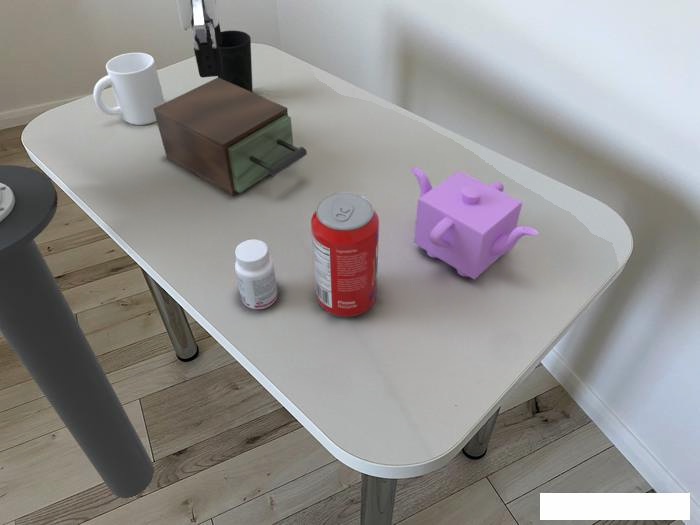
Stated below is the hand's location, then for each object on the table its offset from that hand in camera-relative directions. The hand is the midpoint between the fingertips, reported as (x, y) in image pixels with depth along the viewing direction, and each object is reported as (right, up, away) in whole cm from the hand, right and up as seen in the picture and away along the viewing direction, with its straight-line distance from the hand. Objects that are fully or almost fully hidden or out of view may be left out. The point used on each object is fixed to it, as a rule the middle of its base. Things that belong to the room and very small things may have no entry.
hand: (211, 59), depth 82 cm
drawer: (+3, -12, +14) cm, 19 cm away
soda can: (+19, -34, -6) cm, 39 cm away
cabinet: (-1, -11, +17) cm, 20 cm away
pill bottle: (+8, -33, -6) cm, 35 cm away
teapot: (+35, -27, 0) cm, 45 cm away
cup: (-2, +3, +31) cm, 32 cm away
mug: (-21, -2, +27) cm, 34 cm away
